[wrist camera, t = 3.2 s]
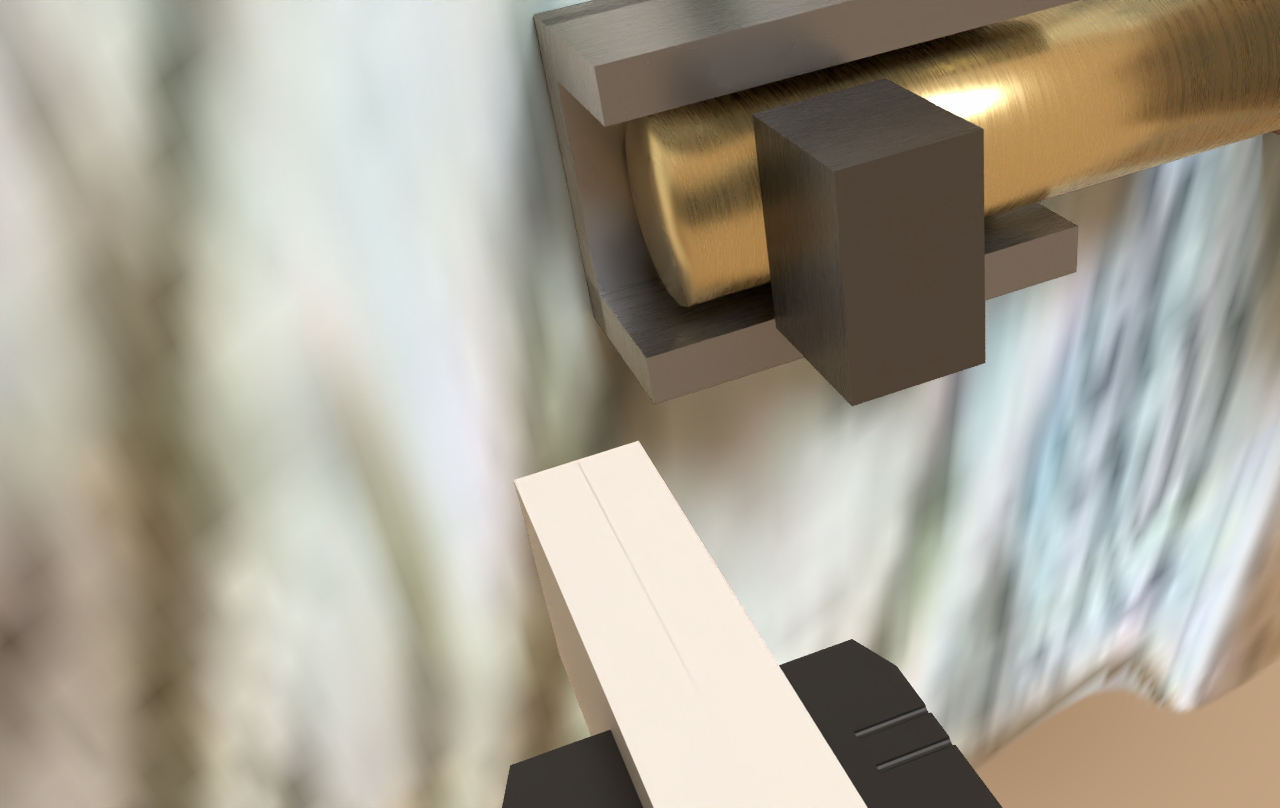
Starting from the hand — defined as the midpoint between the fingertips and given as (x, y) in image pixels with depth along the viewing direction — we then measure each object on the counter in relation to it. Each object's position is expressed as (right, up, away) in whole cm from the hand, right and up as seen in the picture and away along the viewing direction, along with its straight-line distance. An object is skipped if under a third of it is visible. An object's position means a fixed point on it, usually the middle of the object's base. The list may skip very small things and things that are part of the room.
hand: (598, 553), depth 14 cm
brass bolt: (+6, +8, +10) cm, 15 cm away
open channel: (+3, +8, +11) cm, 13 cm away
